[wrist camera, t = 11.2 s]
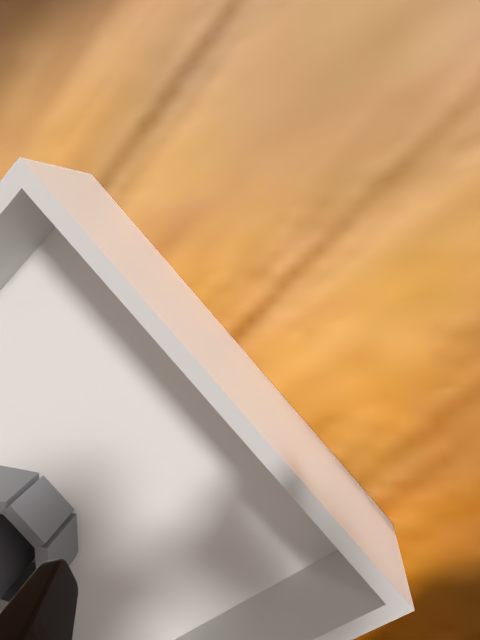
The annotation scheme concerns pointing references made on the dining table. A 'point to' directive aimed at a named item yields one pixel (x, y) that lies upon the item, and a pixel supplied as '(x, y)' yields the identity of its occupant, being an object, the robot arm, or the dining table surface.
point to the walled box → (164, 445)
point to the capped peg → (12, 554)
